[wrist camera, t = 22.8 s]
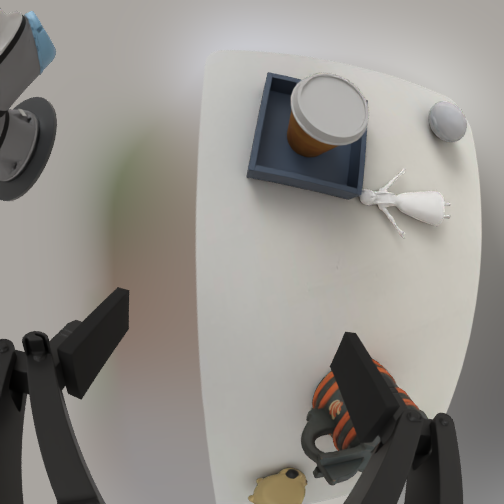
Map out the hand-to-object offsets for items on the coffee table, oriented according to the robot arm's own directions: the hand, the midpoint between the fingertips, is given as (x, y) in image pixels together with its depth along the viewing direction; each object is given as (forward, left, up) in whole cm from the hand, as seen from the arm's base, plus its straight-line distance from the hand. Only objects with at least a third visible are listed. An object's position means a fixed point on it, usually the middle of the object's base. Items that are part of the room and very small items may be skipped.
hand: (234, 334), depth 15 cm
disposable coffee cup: (+7, +22, -23) cm, 33 cm away
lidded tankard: (+21, -18, -24) cm, 36 cm away
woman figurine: (+25, +16, -24) cm, 38 cm away
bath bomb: (+33, +34, -24) cm, 53 cm away
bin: (+7, +22, -23) cm, 33 cm away
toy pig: (+15, -41, -24) cm, 50 cm away
